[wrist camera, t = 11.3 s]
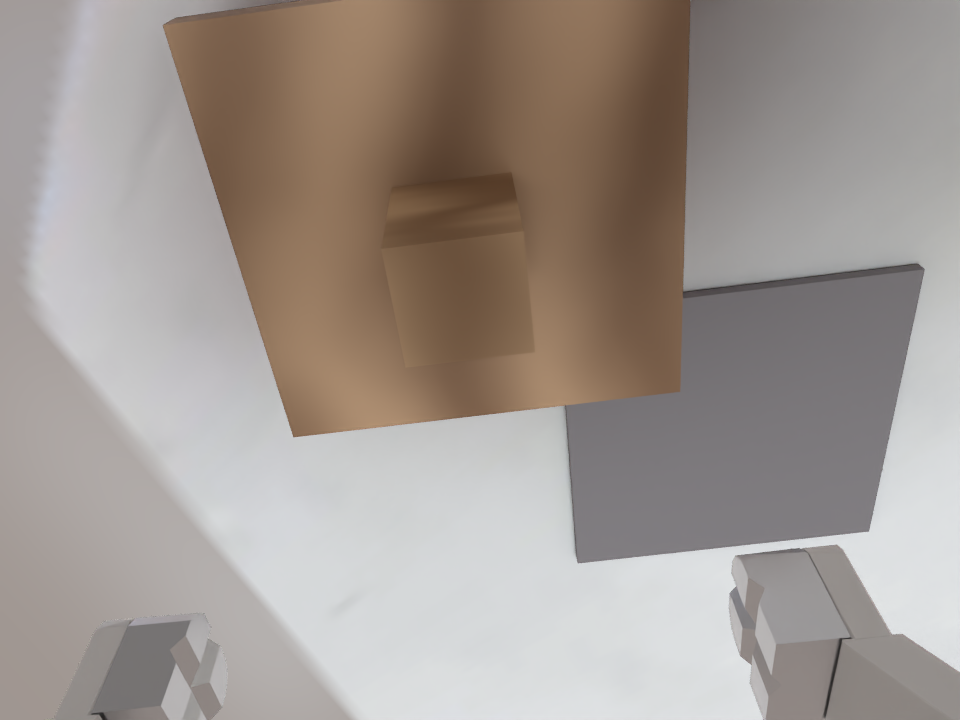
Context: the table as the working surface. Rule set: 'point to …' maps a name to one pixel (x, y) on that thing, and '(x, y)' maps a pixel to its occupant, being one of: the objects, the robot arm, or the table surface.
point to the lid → (450, 198)
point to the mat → (751, 421)
